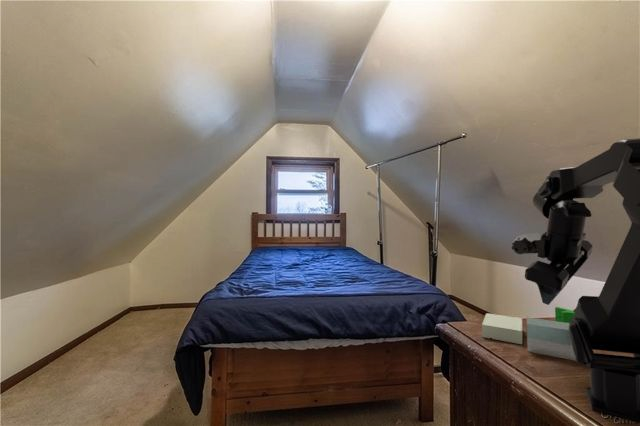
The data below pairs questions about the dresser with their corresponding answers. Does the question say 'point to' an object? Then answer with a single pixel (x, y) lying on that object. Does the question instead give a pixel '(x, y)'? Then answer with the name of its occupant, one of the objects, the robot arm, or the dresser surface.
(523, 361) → the dresser surface
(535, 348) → the grey-blue rectangular block
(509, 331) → the sage stand
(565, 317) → the pipe clamp
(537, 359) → the dresser surface
